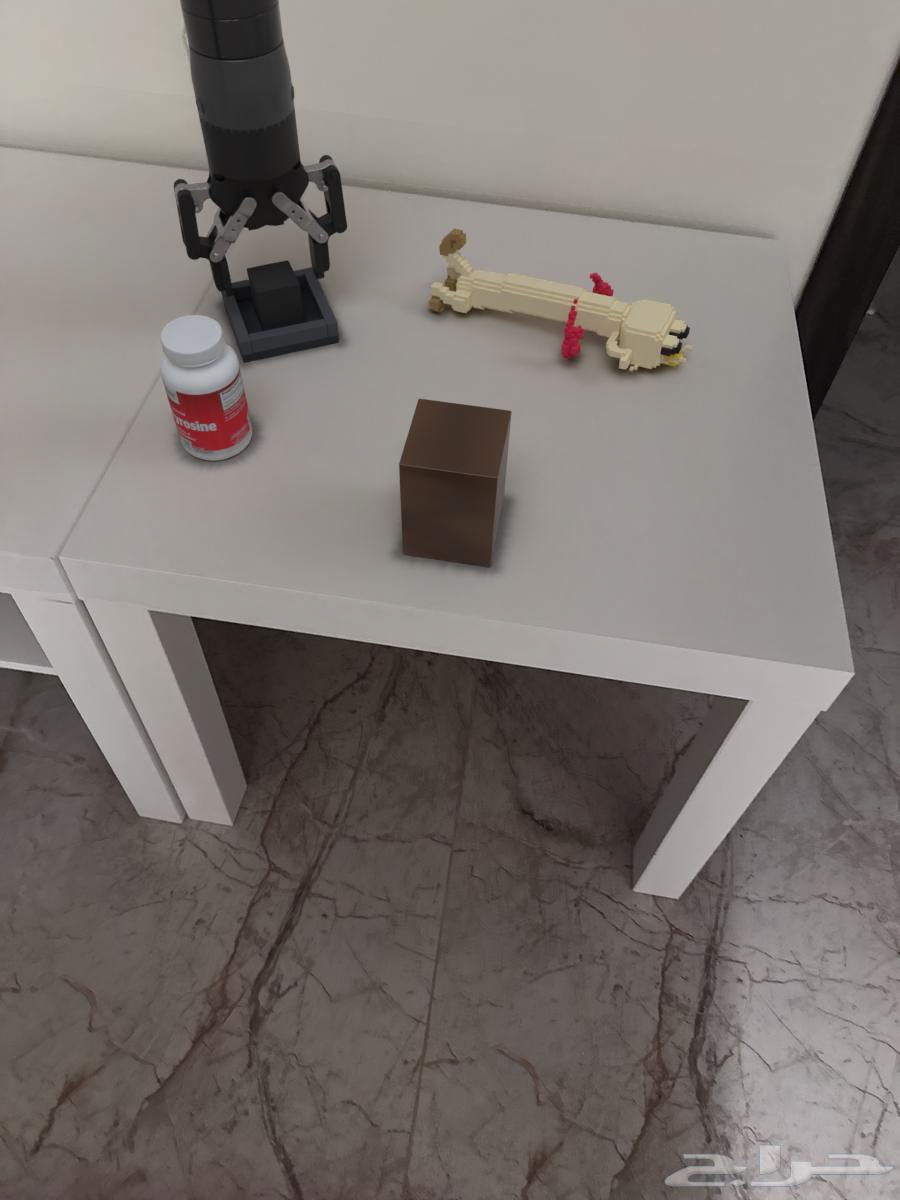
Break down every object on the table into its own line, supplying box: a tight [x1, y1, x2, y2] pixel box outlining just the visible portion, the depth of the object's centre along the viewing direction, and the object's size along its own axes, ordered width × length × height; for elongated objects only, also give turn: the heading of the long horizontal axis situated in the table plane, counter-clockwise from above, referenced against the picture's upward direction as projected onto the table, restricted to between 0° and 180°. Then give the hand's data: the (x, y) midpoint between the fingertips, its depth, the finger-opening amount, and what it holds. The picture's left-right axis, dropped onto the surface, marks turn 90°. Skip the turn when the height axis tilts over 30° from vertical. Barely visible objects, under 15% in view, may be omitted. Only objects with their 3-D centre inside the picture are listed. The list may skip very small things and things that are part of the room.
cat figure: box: [428, 228, 693, 372], centre depth 86 cm, size 10×9×25 cm
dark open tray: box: [220, 266, 340, 363], centre depth 89 cm, size 9×9×2 cm
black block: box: [246, 259, 304, 331], centre depth 87 cm, size 4×4×4 cm
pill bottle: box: [159, 314, 253, 462], centre depth 76 cm, size 6×6×11 cm
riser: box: [398, 398, 513, 568], centre depth 70 cm, size 7×7×10 cm
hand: (273, 282), depth 86 cm, fingers open, 8 cm apart
